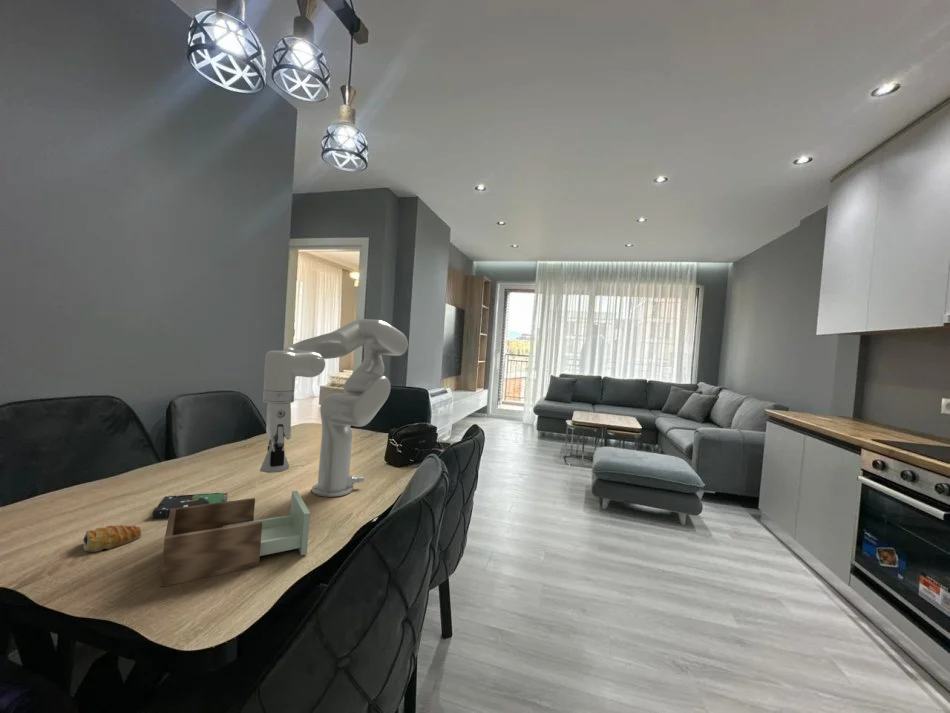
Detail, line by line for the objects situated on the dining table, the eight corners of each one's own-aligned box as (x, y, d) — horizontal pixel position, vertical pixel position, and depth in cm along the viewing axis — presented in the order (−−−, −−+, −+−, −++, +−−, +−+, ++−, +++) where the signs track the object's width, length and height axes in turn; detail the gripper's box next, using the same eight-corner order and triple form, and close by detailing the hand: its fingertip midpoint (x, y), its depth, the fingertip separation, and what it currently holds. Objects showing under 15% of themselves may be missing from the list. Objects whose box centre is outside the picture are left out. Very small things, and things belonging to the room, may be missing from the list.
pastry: (136, 531, 91) (138, 515, 91) (144, 542, 87) (145, 525, 87) (80, 544, 83) (81, 527, 83) (85, 557, 79) (86, 538, 79)
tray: (294, 526, 98) (297, 490, 98) (306, 554, 86) (310, 513, 86) (221, 539, 89) (224, 499, 89) (223, 572, 77) (227, 526, 77)
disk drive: (151, 522, 97) (221, 515, 103) (152, 511, 97) (222, 504, 103) (163, 506, 106) (227, 500, 112) (164, 496, 106) (227, 490, 112)
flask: (266, 464, 108) (268, 429, 108) (293, 465, 109) (295, 430, 109) (254, 473, 101) (256, 435, 101) (283, 474, 102) (285, 436, 101)
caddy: (251, 535, 93) (254, 498, 93) (258, 565, 81) (262, 523, 81) (167, 550, 84) (170, 508, 84) (160, 587, 71) (164, 538, 71)
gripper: (300, 400, 100) (296, 470, 100) (288, 391, 114) (285, 452, 114) (267, 401, 95) (263, 474, 96) (259, 392, 109) (256, 455, 110)
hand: (275, 461), depth 105 cm, fingers closed on flask, 5 cm apart
